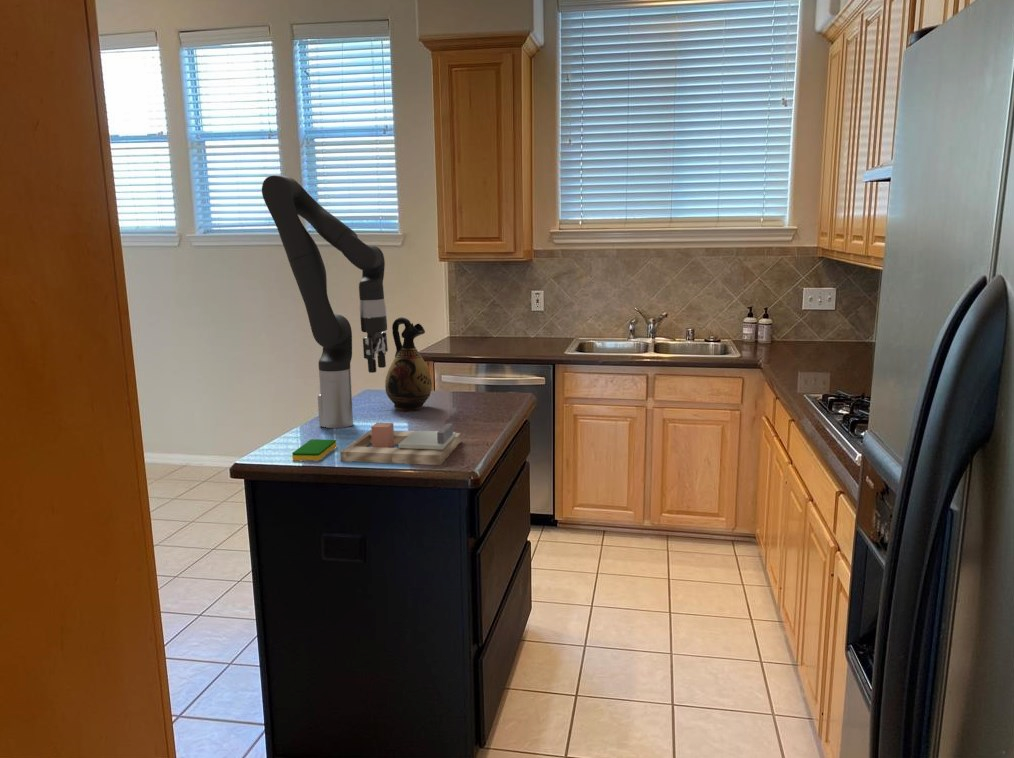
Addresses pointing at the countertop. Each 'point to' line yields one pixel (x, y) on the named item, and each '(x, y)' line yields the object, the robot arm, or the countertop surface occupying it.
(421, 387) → the ceramic jug
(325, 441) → the dish sponge
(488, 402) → the countertop surface
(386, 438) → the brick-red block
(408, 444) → the cover
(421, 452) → the board
